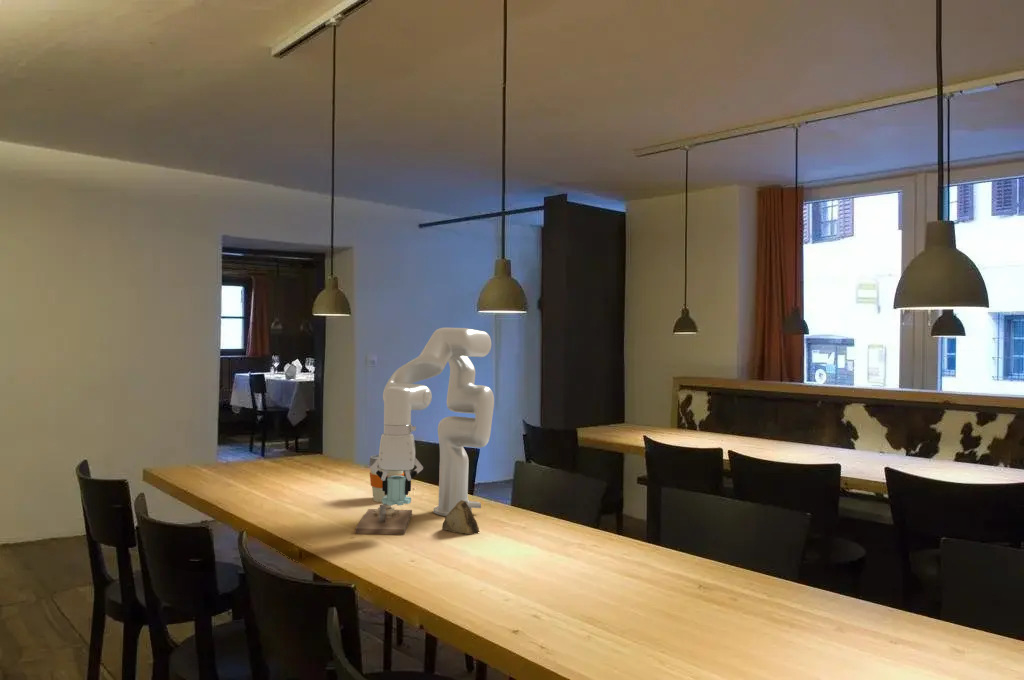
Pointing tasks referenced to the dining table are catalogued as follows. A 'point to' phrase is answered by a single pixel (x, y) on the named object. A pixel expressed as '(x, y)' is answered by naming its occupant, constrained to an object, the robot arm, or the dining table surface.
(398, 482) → the loose cog
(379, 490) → the reusable coffee cup
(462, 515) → the rock
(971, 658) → the dining table surface
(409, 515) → the gear board
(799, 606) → the dining table surface
